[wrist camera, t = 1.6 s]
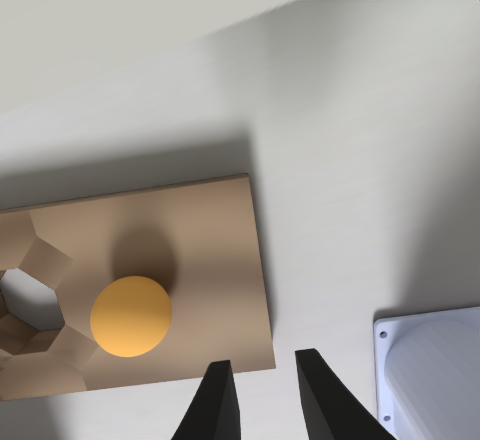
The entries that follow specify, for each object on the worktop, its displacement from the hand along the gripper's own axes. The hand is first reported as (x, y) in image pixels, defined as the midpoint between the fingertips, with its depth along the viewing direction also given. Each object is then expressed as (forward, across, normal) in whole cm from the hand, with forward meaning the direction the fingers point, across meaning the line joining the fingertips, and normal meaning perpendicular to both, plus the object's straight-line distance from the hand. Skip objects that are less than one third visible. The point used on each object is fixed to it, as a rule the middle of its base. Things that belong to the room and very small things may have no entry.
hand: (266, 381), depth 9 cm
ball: (+6, +6, 0) cm, 9 cm away
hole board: (+11, +9, 0) cm, 14 cm away
